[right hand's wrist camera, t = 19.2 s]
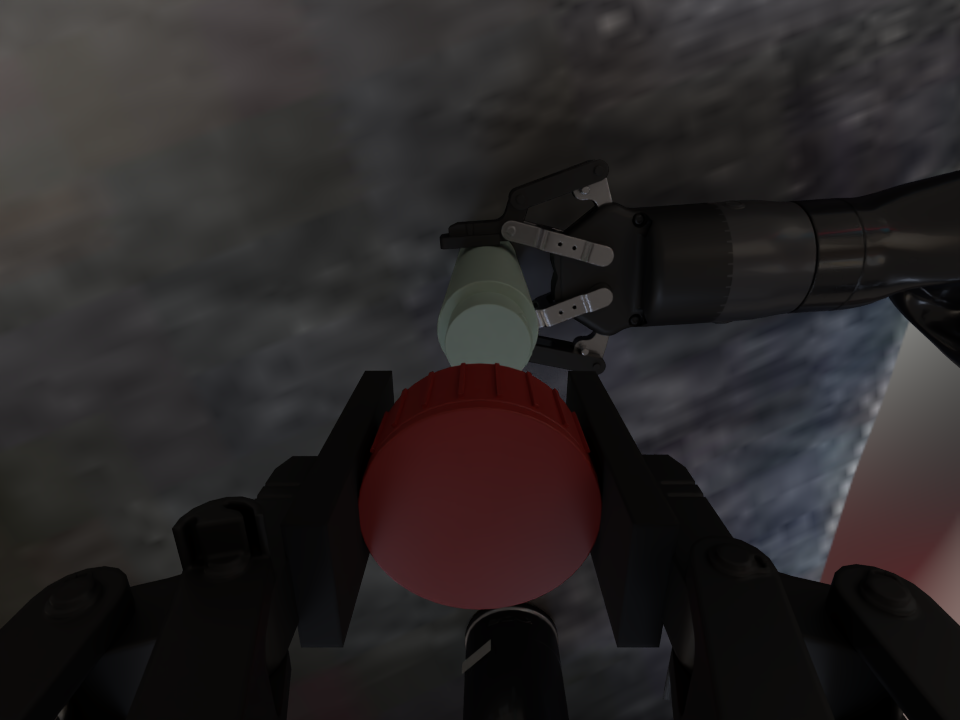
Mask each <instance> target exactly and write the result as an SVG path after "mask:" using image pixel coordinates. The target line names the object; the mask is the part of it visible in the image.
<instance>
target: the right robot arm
mask: <svg viewBox="0 0 960 720" xmlns="http://www.w3.org/2000/svg"><path fill="white" fill-rule="evenodd" d="M393 405H394V394H393V379H392V371H365V372H364V374H363V376H362V377H361V379H360V381H359V383H358V385H357V386H356V388H355V390H354V392H353V394H352V395H351V397H350V399H349V401H348V403H347V404H346V406H345V408H344V410H343V412H342V414H341V415H340V417H339V419H338V421H337V423H336V424H335V426H334V428H333V430H332V432H331V433H330V435H329V437H328V439H327V441H326V442H325V444H324V446H323V448H322V450H321V451H320V453H319V455H318V456H292V457H291V458H290V459H288V460H287V461H285V462H284V463H283V464H281V465H280V466H278V467H277V468H276V469H275V470H274V471H273V473H272V474H271V476H270V477H269V479H268V480H267V482H266V483H265V484H266V485H265V486H263V488H262V489H261V491H260V492H259V494H258V495H257V499H255V500H254V499H250V498H246V497H225V498H221V499H217V500H212V501H209V502H207V503H204V504H202V505H200V506H198V507H195V508H193V509H192V510H190V511H189V512H188V513H186V514H185V515H184V516H182V517H181V518H180V519H179V520H178V521H177V523H176V524H175V525H174V527H173V528H172V531H173V535H174V538H175V542H176V546H177V549H178V553H179V557H180V561H181V564H182V568H183V572H182V574H180V575H177V576H174V577H170V578H167V579H162V580H158V581H154V582H149V583H145V584H141V585H136V586H132V587H130V585H129V582H128V579H127V576H126V574H125V573H123V572H122V571H121V570H120V569H119V568H113V567H107V566H103V567H96V568H88V569H85V570H82V571H79V572H75V573H73V574H70V575H67V576H65V577H63V578H62V579H60V580H58V581H56V582H54V583H52V584H50V585H49V586H47V587H46V588H44V589H43V590H42V591H41V592H39V593H38V594H37V595H36V596H34V597H33V598H32V599H31V600H30V601H29V602H28V603H27V604H26V605H25V606H24V607H23V608H22V609H21V610H20V611H19V612H18V613H16V614H15V615H14V616H13V617H12V618H11V619H10V620H9V621H8V622H7V623H6V624H5V625H4V626H3V627H2V628H1V629H0V720H54V719H55V718H56V717H57V716H58V717H57V719H56V720H286V719H287V709H288V698H289V688H290V677H291V663H290V656H289V651H288V648H289V645H290V643H291V640H292V638H293V635H294V633H295V630H296V628H297V626H298V632H299V638H300V643H301V647H343V645H344V642H345V638H346V635H347V631H348V628H349V624H350V621H351V617H352V614H353V610H354V606H355V603H356V599H357V596H358V592H359V589H360V585H361V582H362V578H363V575H364V571H365V568H366V564H367V561H368V557H369V554H370V551H369V549H368V548H367V546H366V544H365V541H364V539H363V536H362V533H361V527H360V518H359V508H358V497H359V490H360V486H361V483H362V477H363V474H364V472H365V469H366V466H367V464H368V461H369V458H370V456H371V452H370V449H371V447H372V444H373V442H374V439H375V436H376V434H377V431H378V429H379V426H380V423H381V421H382V418H383V416H384V413H385V412H386V411H387V412H389V411H390V410H391V408H392V407H393ZM566 405H567V407H568V408H569V409H570V411H571V412H575V413H576V415H577V418H578V421H579V423H580V426H581V428H582V431H583V434H584V436H585V439H586V441H587V444H588V447H589V449H590V453H589V455H590V458H591V461H592V463H593V466H594V469H595V471H596V474H597V477H598V483H599V486H600V490H601V497H602V511H601V521H600V529H599V533H598V536H597V539H596V541H595V544H594V546H593V548H592V550H591V551H590V552H591V556H592V560H593V563H594V567H595V570H596V574H597V577H598V581H599V584H600V588H601V591H602V595H603V598H604V602H605V605H606V609H607V612H608V616H609V619H610V623H611V627H612V630H613V634H614V637H615V641H616V644H617V647H659V645H660V639H661V634H662V628H663V624H664V627H665V629H666V632H667V634H668V637H669V639H670V642H671V644H672V651H671V656H670V662H669V667H668V672H667V678H666V683H665V689H664V696H663V699H665V700H670V696H671V697H672V708H673V718H674V720H907V719H906V718H905V716H904V715H903V713H904V714H905V715H906V717H907V718H908V719H909V720H960V626H959V625H958V624H957V623H956V622H955V621H954V620H953V619H952V618H951V617H950V616H949V615H948V614H947V613H946V612H945V611H944V610H943V609H942V608H941V607H940V606H939V605H938V604H937V603H936V602H935V601H934V600H933V599H932V598H931V597H930V596H928V595H927V594H926V593H925V592H923V591H922V590H921V589H920V588H918V587H917V586H916V585H914V584H913V583H911V582H909V581H907V580H905V579H904V578H902V577H900V576H898V575H896V574H894V573H891V572H889V571H886V570H883V569H880V568H877V567H873V566H866V565H859V564H854V565H848V566H842V567H841V568H840V569H839V570H838V571H836V572H835V574H834V577H833V580H832V583H831V585H829V584H824V583H820V582H816V581H811V580H807V579H803V578H798V577H794V576H790V575H787V574H784V573H780V572H778V571H777V569H776V567H775V566H774V564H773V563H772V561H771V560H770V558H768V557H767V556H766V555H765V554H764V553H762V552H761V551H760V550H759V549H758V548H756V547H754V546H752V545H750V544H748V543H746V542H744V541H742V540H739V539H735V538H733V537H732V536H731V534H730V533H729V531H728V530H727V528H726V527H725V525H724V524H723V522H722V521H721V519H720V518H719V516H718V515H717V513H716V512H715V510H714V509H713V507H712V506H711V504H710V503H709V502H708V500H707V499H706V497H704V496H703V493H702V491H701V490H700V488H699V487H698V485H695V481H694V479H693V478H692V476H691V475H690V473H689V472H688V470H687V469H686V467H684V466H683V465H682V464H680V463H679V462H677V461H676V460H675V459H673V458H672V457H670V456H669V455H642V454H641V453H640V451H639V449H638V447H637V445H636V444H635V442H634V440H633V438H632V436H631V435H630V433H629V431H628V429H627V427H626V426H625V424H624V422H623V420H622V418H621V417H620V415H619V413H618V411H617V409H616V408H615V406H614V404H613V402H612V400H611V399H610V397H609V395H608V393H607V391H606V390H605V388H604V386H603V384H602V382H601V381H600V379H599V377H598V375H597V373H596V371H568V383H567V398H566Z"/></svg>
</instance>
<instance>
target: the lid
mask: <svg viewBox="0 0 960 720" xmlns="http://www.w3.org/2000/svg"><path fill="white" fill-rule="evenodd" d="M370 452H371V456H370V458H369V461H368V464H367V466H366V469H365V472H364V474H363V477H362V483H361V486H360V490H359V497H358V508H359V518H360V527H361V533H362V536H363V539H364V541H365V544H366V546H367V548H368V549H369V551H370V553H371V555H372V556H373V558H374V559H375V561H376V562H377V563H378V565H379V566H380V567H381V568H382V569H383V570H384V571H385V572H386V573H387V575H389V576H390V577H391V578H392V579H393V580H395V581H396V582H397V583H398V584H400V585H401V586H403V587H404V588H406V589H407V590H409V591H410V592H412V593H414V594H416V595H418V596H420V597H422V598H425V599H427V600H430V601H433V602H435V603H439V604H443V605H446V606H450V607H457V608H463V609H479V610H481V609H497V608H503V607H510V606H514V605H518V604H521V603H525V602H527V601H530V600H533V599H536V598H538V597H540V596H542V595H544V594H546V593H548V592H550V591H551V590H553V589H554V588H556V587H557V586H559V585H561V584H562V583H563V582H564V581H566V580H567V579H568V578H569V577H570V576H572V575H573V573H574V572H575V571H576V570H577V569H578V568H579V567H580V566H581V565H582V563H583V562H584V561H585V559H586V558H587V556H588V555H589V553H590V551H591V550H592V548H593V546H594V544H595V541H596V539H597V536H598V533H599V529H600V521H601V511H602V497H601V490H600V486H599V483H598V477H597V474H596V471H595V469H594V466H593V463H592V461H591V458H590V455H589V453H590V449H589V447H588V444H587V441H586V439H585V436H584V434H583V431H582V428H581V426H580V423H579V421H578V418H577V415H576V413H575V412H571V411H570V409H569V408H568V407H567V405H566V404H565V402H564V401H563V400H562V399H561V398H560V396H559V393H558V391H557V390H556V389H555V388H554V389H553V390H552V389H551V388H550V387H549V386H548V385H546V384H545V383H543V382H542V381H540V380H539V379H537V378H535V377H534V376H532V374H531V373H530V372H528V371H527V373H525V372H523V371H520V370H517V369H514V368H511V367H507V366H502V365H500V364H499V363H495V364H484V363H476V364H466V363H461V365H458V366H453V367H449V368H446V369H443V370H440V371H437V372H435V373H434V372H433V371H432V372H430V373H429V375H428V376H426V377H425V378H423V379H421V380H420V381H418V382H417V383H415V384H414V385H413V386H411V387H410V388H409V389H408V390H407V389H406V388H405V389H404V390H403V391H402V394H401V397H400V398H399V399H398V400H397V401H396V402H395V404H394V405H393V407H392V408H391V410H390V411H389V412H387V411H386V412H385V413H384V416H383V418H382V421H381V423H380V426H379V429H378V431H377V434H376V436H375V439H374V442H373V444H372V447H371V449H370Z"/></svg>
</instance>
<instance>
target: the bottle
mask: <svg viewBox="0 0 960 720" xmlns="http://www.w3.org/2000/svg"><path fill="white" fill-rule="evenodd" d="M437 333H438V339H439V343H440V345H441V348H442V350H443V352H444V353H445V355H446V356H447V359H448V361H449V363H450V365H451V366H452V367H453V366H458V365H461V363H466V364H476V363H484V364H495V363H499V364H500V365H502V366H507V367H511V368H514V369H517V370H520V371H521V370H522V369H523V368H524V367H525V365H527V363H528V361H529V359H530V357H531V355H532V351H533V349H534V347H535V344H536V342H537V338H538V319H537V315H536V312H535V309H534V306H533V303H532V300H531V297H530V294H529V291H528V288H527V285H526V282H525V279H524V276H523V273H522V270H521V267H520V264H519V261H518V258H517V256H516V253H515V250H514V248H513V246H512V245H511V243H510V242H509V241H501V242H500V246H483V247H470V248H461V249H460V251H459V255H458V258H457V261H456V264H455V267H454V270H453V273H452V277H451V280H450V283H449V286H448V289H447V292H446V295H445V299H444V302H443V305H442V308H441V311H440V314H439V318H438V323H437Z"/></svg>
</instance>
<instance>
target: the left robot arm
mask: <svg viewBox="0 0 960 720" xmlns="http://www.w3.org/2000/svg"><path fill="white" fill-rule="evenodd" d="M608 172H609V167H608V164H607V163H606V162H605V161H603V160H588V161H586V162H583V163H580V164H578V165H575V166H572V167H569V168H567V169H564V170H561V171H559V172H556V173H553V174H551V175H548V176H545V177H543V178H540V179H537V180H535V181H532V182H529V183H526V184H524V185H521V186H518V187H516V188H513V189H512V190H511V191H510V193H509V199H508V203H507V206H506V209H505V212H504V214H503V215H502V216H501V217H500V218H498V219H495V220H482V221H468V222H457V223H455V224H453V225H451V226H450V227H449V233H447V234H442V235H441V236H440V246H441V249H456V248H470V247H483V246H500V242H501V241H512V242H516V243H520V244H523V245H527V246H531V247H535V248H537V249H540V250H543V251H546V252H550V260H551V263H552V267H553V270H554V272H553V276H552V280H551V292H549V293H546V294H544V295H541V296H539V297H537V298H536V299H535V300H533V301H532V303H533V306H534V309H535V312H536V315H537V319H538V328H540V327H549V326H553V325H555V324H558V323H560V322H563V321H566V320H568V319H571V318H574V319H575V320H577V321H578V322H580V323H582V324H583V325H585V326H586V327H588V328H589V329H591V330H593V331H592V333H591V334H589V335H587V336H578V337H576V338H575V339H574V340H573V342H569V341H564V340H559V339H554V338H549V337H544V336H539V335H538V338H537V342H536V344H535V347H534V349H533V351H532V355H531V357H530V359H529V361H528V362H532V363H538V364H543V365H548V366H553V367H558V368H563V369H568V370H573V371H596V373H597V375H598V374H601V373H602V372H603V371H604V370H605V367H606V365H605V362H604V360H603V354H604V351H605V348H606V345H607V342H608V338H609V336H611V335H614V334H616V333H618V332H619V331H621V330H623V329H626V328H629V327H646V326H661V325H677V324H694V323H709V322H712V323H717V324H721V323H728V322H732V321H740V320H750V319H757V318H762V317H767V316H772V315H778V314H786V313H802V312H818V311H834V310H844V309H850V308H856V307H860V306H864V305H868V304H871V303H874V302H876V301H879V300H881V299H884V298H886V297H889V298H890V300H891V301H892V303H893V304H894V305H895V307H896V308H897V309H898V310H899V311H900V312H901V313H902V314H903V315H904V317H905V318H906V319H907V320H909V321H910V322H911V323H912V324H913V325H914V326H915V327H916V328H917V329H918V330H919V331H920V332H921V333H922V334H923V335H924V336H926V337H927V338H928V339H929V340H930V341H931V342H932V343H933V344H934V345H935V346H936V347H937V348H938V349H939V350H940V351H941V352H942V353H943V354H944V355H945V356H947V357H948V358H949V359H950V360H951V361H952V362H953V363H955V364H956V365H957V366H958V367H959V368H960V170H959V171H954V172H950V173H946V174H942V175H938V176H934V177H930V178H926V179H922V180H918V181H914V182H910V183H906V184H902V185H898V186H895V187H892V188H889V189H886V190H883V191H880V192H876V193H872V194H869V195H865V196H860V197H856V198H830V199H816V200H802V201H783V202H776V201H763V200H740V201H726V202H714V203H698V204H684V205H670V206H656V207H642V208H626V207H624V206H622V205H620V204H618V203H614V202H612V198H611V195H610V191H609V187H608V183H607V179H606V177H607V175H608ZM570 192H572V195H573V196H574V197H575V198H577V199H580V200H587V199H590V200H591V201H593V203H594V205H595V206H594V207H593V208H592V209H590V210H589V211H588V212H587V213H586V214H584V215H583V216H582V217H581V218H579V219H578V220H577V221H576V222H574V223H573V224H572V225H571V226H570V227H568V228H567V229H566V230H561V229H557V228H553V227H549V226H546V225H542V224H536V223H532V222H528V221H524V219H525V216H526V213H527V210H528V208H529V207H531V206H534V205H537V204H540V203H542V202H545V201H548V200H551V199H553V198H556V197H559V196H561V195H564V194H567V193H570ZM553 300H554V301H553ZM559 311H561V312H559ZM465 647H466V660H465V661H464V662H463V663H462V674H463V673H464V672H465V682H464V709H463V720H569V716H568V710H567V703H566V696H565V690H564V683H563V676H562V670H561V662H560V655H559V649H558V636H557V630H556V627H555V624H554V622H553V621H552V619H551V618H550V617H549V616H548V615H547V614H546V613H544V612H543V611H542V610H540V609H538V608H536V607H534V606H531V605H528V604H524V603H521V604H518V605H514V606H510V607H503V608H497V609H483V610H482V611H480V612H479V613H478V614H476V615H475V616H474V617H473V619H472V620H471V621H470V623H469V625H468V627H467V630H466V636H465Z"/></svg>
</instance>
